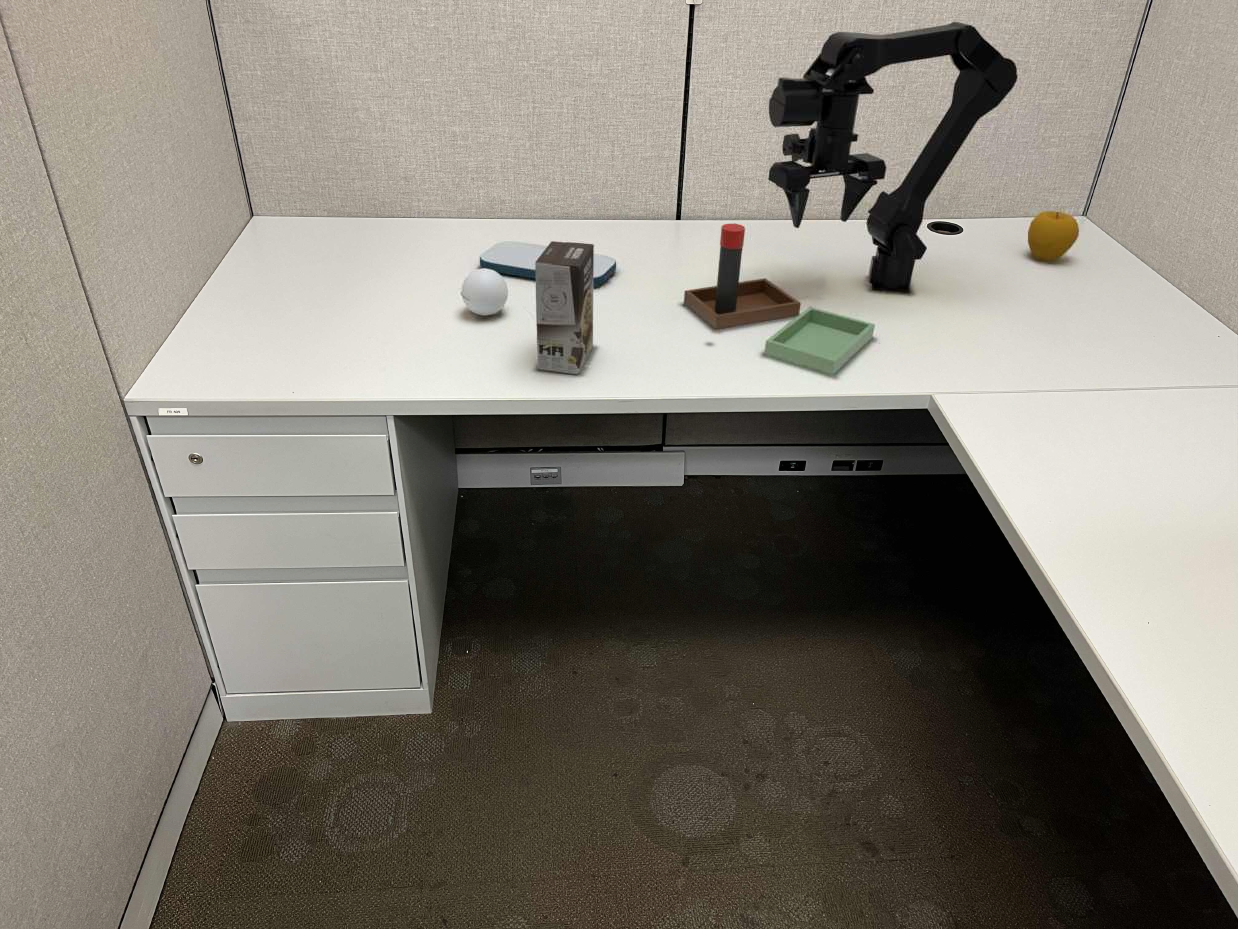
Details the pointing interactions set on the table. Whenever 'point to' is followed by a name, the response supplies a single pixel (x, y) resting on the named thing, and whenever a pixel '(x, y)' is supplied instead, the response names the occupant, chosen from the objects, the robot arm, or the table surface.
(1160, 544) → the table surface
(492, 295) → the white rounded piece
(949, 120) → the robot arm
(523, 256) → the blue white rounded slab
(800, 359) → the green tray
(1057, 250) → the apple
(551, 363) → the coffee box
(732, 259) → the thermos
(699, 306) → the walnut tray
